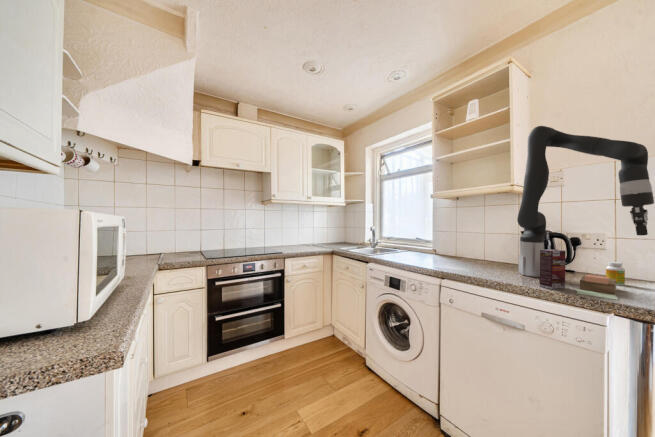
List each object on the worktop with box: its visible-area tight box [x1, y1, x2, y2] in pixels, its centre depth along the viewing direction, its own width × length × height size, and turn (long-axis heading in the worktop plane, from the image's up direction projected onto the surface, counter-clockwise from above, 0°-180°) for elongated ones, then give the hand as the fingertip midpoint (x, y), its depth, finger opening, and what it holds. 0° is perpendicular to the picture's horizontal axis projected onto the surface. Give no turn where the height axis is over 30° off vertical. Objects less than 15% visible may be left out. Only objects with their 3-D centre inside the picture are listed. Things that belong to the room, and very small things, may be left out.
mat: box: [576, 288, 619, 301], centre depth 90 cm, size 10×7×1 cm
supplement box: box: [538, 248, 567, 290], centre depth 100 cm, size 9×5×16 cm, turn 106°
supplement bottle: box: [605, 261, 626, 286], centre depth 106 cm, size 5×5×10 cm
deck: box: [579, 274, 617, 295], centre depth 97 cm, size 14×9×4 cm, turn 128°
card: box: [585, 273, 609, 284], centre depth 94 cm, size 5×6×2 cm
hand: (642, 235), depth 89 cm, fingers open, 8 cm apart
